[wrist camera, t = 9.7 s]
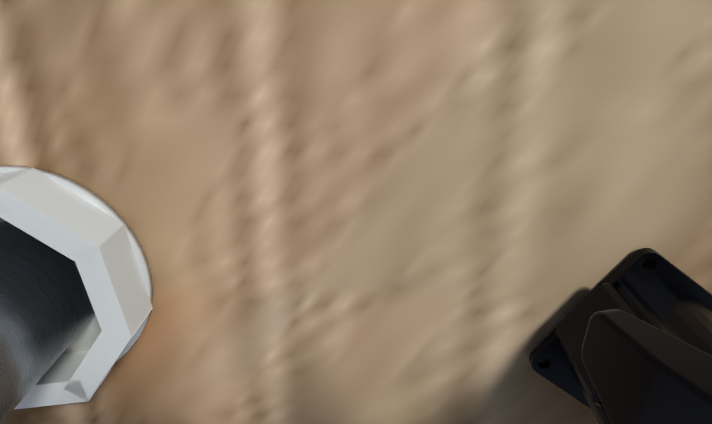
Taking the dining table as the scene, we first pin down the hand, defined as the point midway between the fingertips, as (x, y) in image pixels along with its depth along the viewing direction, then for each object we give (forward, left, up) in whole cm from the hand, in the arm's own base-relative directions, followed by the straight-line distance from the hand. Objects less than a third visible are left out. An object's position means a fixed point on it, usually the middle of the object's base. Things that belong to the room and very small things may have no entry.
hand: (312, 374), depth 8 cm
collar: (+7, +11, -12) cm, 18 cm away
